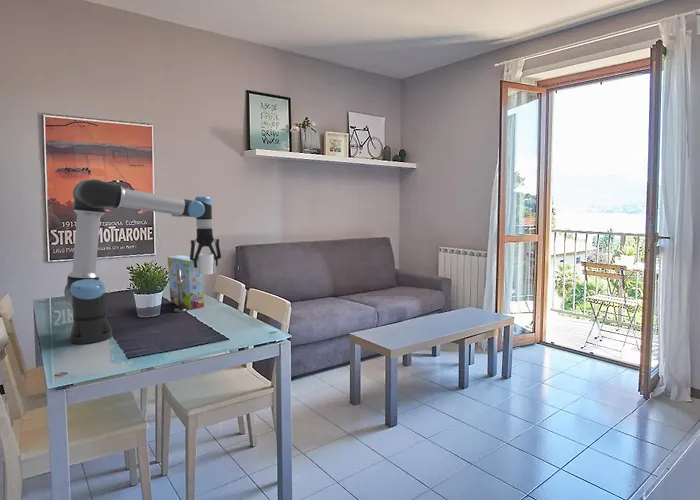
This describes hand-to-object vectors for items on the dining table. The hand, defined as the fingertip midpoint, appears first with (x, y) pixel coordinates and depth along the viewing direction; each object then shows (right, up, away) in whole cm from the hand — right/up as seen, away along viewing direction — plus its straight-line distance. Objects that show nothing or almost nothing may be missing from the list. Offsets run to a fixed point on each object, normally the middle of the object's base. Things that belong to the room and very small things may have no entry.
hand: (206, 273), depth 226 cm
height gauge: (-13, -19, +1) cm, 23 cm away
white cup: (0, 0, 0) cm, 1 cm away
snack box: (-15, -18, +14) cm, 27 cm away
